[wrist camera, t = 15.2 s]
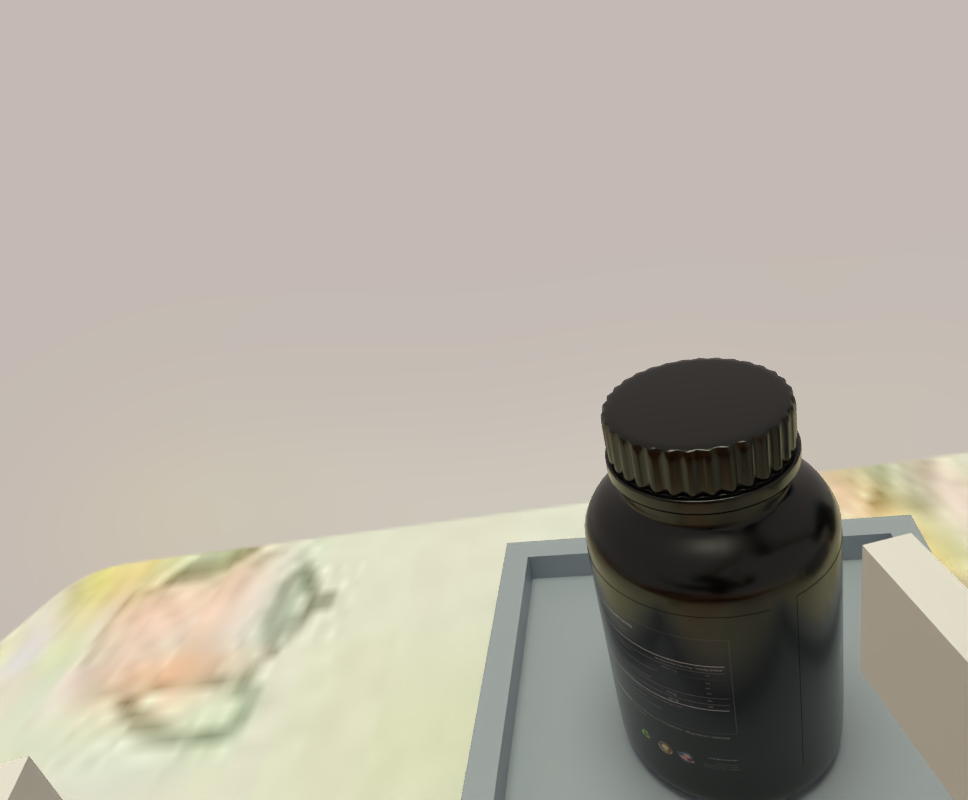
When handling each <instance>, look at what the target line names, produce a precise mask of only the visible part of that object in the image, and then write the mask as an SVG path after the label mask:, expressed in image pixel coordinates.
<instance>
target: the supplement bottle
mask: <svg viewBox="0 0 968 800" xmlns="http://www.w3.org/2000/svg"><path fill="white" fill-rule="evenodd" d="M601 423H602V429H603V434H604V440H605V445H606V451H605V459H606V464H607V470H608V473H607V475H606V476H605V477H604V478H603V479H602V481H601V482H600V484H599V485H598V487H597V488H596V490H595V492H594V494H593V496H592V498H591V500H590V503H589V506H588V509H587V513H586V518H585V536H586V543H587V550H588V556H589V560H590V565H591V570H592V575H593V580H594V585H595V590H596V595H597V600H598V605H599V610H600V614H601V619H602V624H603V629H604V634H605V639H606V644H607V649H608V654H609V658H610V663H611V668H612V673H613V678H614V683H615V688H616V693H617V698H618V702H619V706H620V710H621V715H622V719H623V723H624V726H625V729H626V732H627V735H628V737H629V739H630V742H631V744H632V746H633V747H634V749H635V750H636V752H637V753H638V755H639V756H640V758H641V759H642V760H643V761H644V763H645V764H646V765H647V766H648V767H649V768H650V769H651V770H652V771H653V772H654V773H655V774H656V775H657V776H659V777H660V778H661V779H662V780H664V781H665V782H666V783H668V784H669V785H671V786H673V787H674V788H676V789H678V790H679V791H681V792H683V793H685V794H688V795H690V796H692V797H695V798H697V799H700V800H784V799H786V798H789V797H791V796H793V795H795V794H797V793H799V792H801V791H803V790H804V789H805V788H807V787H808V786H810V785H811V784H812V783H814V782H815V781H816V780H817V779H818V778H819V777H820V776H821V775H822V774H823V773H824V772H825V771H826V769H827V768H828V766H829V765H830V763H831V762H832V760H833V758H834V756H835V754H836V752H837V750H838V747H839V744H840V740H841V735H842V728H843V703H844V666H843V534H842V521H841V514H840V509H839V506H838V503H837V501H836V498H835V496H834V494H833V493H832V491H831V489H830V488H829V486H828V485H827V483H826V482H825V481H824V479H823V478H822V477H821V476H820V474H819V473H818V472H817V471H816V470H815V469H814V468H813V467H812V466H810V465H809V464H808V463H807V462H806V461H804V460H803V459H801V439H800V436H799V433H798V431H797V414H796V401H795V398H794V396H793V391H792V388H791V387H790V386H789V385H788V384H786V380H785V379H784V378H782V377H780V376H778V375H777V373H776V372H775V371H771V370H768V369H766V368H765V367H764V366H761V365H754V364H753V363H751V362H746V361H738V360H735V359H720V358H710V359H704V358H698V359H693V360H681V361H678V362H673V363H666V364H663V365H661V366H657V367H652V368H649V369H648V370H646V371H644V372H640V373H636V374H635V375H634V376H633V377H631V378H628V379H626V380H624V381H623V382H622V384H621V385H619V386H617V387H615V388H614V390H613V392H612V393H611V394H609V395H608V396H607V401H606V402H605V403H604V404H603V407H602V414H601Z"/></svg>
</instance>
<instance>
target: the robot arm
mask: <svg viewBox="0 0 968 800" xmlns="http://www.w3.org/2000/svg"><path fill="white" fill-rule="evenodd" d="M860 671H861V672H862V674H863V675H864V677H865V678H866V679H867V681H868V682H869V683H870V685H871V686H872V688H873V689H874V690H875V692H876V693H877V695H878V696H879V697H880V699H881V700H882V701H883V703H884V704H885V706H886V707H887V708H888V710H889V711H890V712H891V714H892V715H893V717H894V718H895V719H896V721H897V722H898V724H899V725H900V726H901V728H902V729H903V730H904V732H905V733H906V735H907V736H908V737H909V739H910V740H911V741H912V743H913V744H914V746H915V747H916V748H917V750H918V751H919V753H920V754H921V755H922V757H923V758H924V759H925V761H926V762H927V764H928V765H929V766H930V768H931V769H932V771H933V772H934V773H935V775H936V776H937V777H938V779H939V780H940V782H941V783H942V784H943V786H944V787H945V788H946V790H947V791H948V793H949V794H950V795H951V797H952V798H953V800H968V589H967V588H966V587H965V586H964V585H963V584H962V583H961V582H960V581H959V580H958V579H957V578H956V577H955V576H954V575H953V574H952V573H951V572H950V571H949V570H948V569H947V568H946V567H945V566H944V565H943V564H942V563H941V562H940V561H939V560H938V559H937V558H936V557H935V556H934V555H933V554H932V553H931V552H930V551H929V550H928V549H927V548H926V547H925V546H924V545H923V544H922V543H921V542H920V541H919V540H918V539H917V538H916V537H915V536H914V535H913V534H912V533H908V534H905V535H901V536H897V537H893V538H889V539H885V540H881V541H877V542H873V543H869V544H865V545H862V597H861V653H860ZM0 800H62V798H61V797H60V796H59V794H58V793H57V792H56V790H55V789H54V788H53V787H52V785H51V784H50V783H49V781H48V780H47V779H46V777H45V776H44V775H43V773H42V772H41V771H40V770H39V768H38V767H37V766H36V764H35V763H34V762H33V760H32V759H31V758H30V757H29V756H26V757H22V758H18V759H14V760H10V761H6V762H2V763H0Z"/></svg>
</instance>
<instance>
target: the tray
mask: <svg viewBox="0 0 968 800" xmlns="http://www.w3.org/2000/svg"><path fill="white" fill-rule="evenodd" d="M841 521H842V534H843V666H844V703H843V728H842V735H841V740H840V744H839V747H838V750H837V752H836V754H835V756H834V758H833V760H832V762H831V763H830V765H829V766H828V768H827V769H826V771H825V772H824V773H823V774H822V775H821V776H820V777H819V778H818V779H817V780H816V781H815V782H814V783H812V784H811V785H810V786H808V787H807V788H805V789H804V790H803V791H801V792H799V793H797V794H795V795H793V796H791V797H789V798H786V799H784V800H953V798H952V797H951V795H950V794H949V793H948V791H947V790H946V788H945V787H944V786H943V784H942V783H941V782H940V780H939V779H938V777H937V776H936V775H935V773H934V772H933V771H932V769H931V768H930V766H929V765H928V764H927V762H926V761H925V759H924V758H923V757H922V755H921V754H920V753H919V751H918V750H917V748H916V747H915V746H914V744H913V743H912V741H911V740H910V739H909V737H908V736H907V735H906V733H905V732H904V730H903V729H902V728H901V726H900V725H899V724H898V722H897V721H896V719H895V718H894V717H893V715H892V714H891V712H890V711H889V710H888V708H887V707H886V706H885V704H884V703H883V701H882V700H881V699H880V697H879V696H878V695H877V693H876V692H875V690H874V689H873V688H872V686H871V685H870V683H869V682H868V681H867V679H866V678H865V677H864V675H863V674H862V672H861V671H860V653H861V597H862V545H865V544H869V543H873V542H877V541H881V540H885V539H889V538H893V537H897V536H901V535H905V534H908V533H912V534H913V535H914V536H915V537H916V538H917V539H918V540H919V541H920V542H921V543H922V544H923V545H924V546H925V547H926V548H927V549H928V550H929V551H930V549H929V547H928V545H927V543H926V541H925V540H924V538H923V536H922V534H921V532H920V531H919V529H918V527H917V525H916V523H915V522H914V520H913V518H912V516H911V515H901V516H886V517H872V518H858V519H844V520H841ZM930 552H931V551H930ZM931 553H932V552H931ZM461 800H700V799H697V798H695V797H692V796H690V795H688V794H685V793H683V792H681V791H679V790H678V789H676V788H674V787H673V786H671V785H669V784H668V783H666V782H665V781H664V780H662V779H661V778H660V777H659V776H657V775H656V774H655V773H654V772H653V771H652V770H651V769H650V768H649V767H648V766H647V765H646V764H645V763H644V761H643V760H642V759H641V758H640V756H639V755H638V753H637V752H636V750H635V749H634V747H633V746H632V744H631V742H630V739H629V737H628V735H627V732H626V729H625V726H624V723H623V719H622V715H621V710H620V706H619V702H618V698H617V693H616V688H615V683H614V678H613V673H612V668H611V663H610V658H609V654H608V649H607V644H606V639H605V634H604V629H603V624H602V619H601V614H600V610H599V605H598V600H597V595H596V590H595V585H594V580H593V575H592V570H591V565H590V560H589V556H588V550H587V543H586V538H574V539H559V540H545V541H531V542H517V543H507V547H506V553H505V558H504V564H503V570H502V575H501V581H500V586H499V592H498V597H497V603H496V608H495V614H494V620H493V625H492V631H491V636H490V642H489V647H488V653H487V658H486V664H485V669H484V675H483V681H482V686H481V692H480V697H479V703H478V708H477V714H476V719H475V725H474V730H473V736H472V742H471V747H470V753H469V758H468V764H467V769H466V775H465V780H464V786H463V791H462V797H461Z"/></svg>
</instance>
